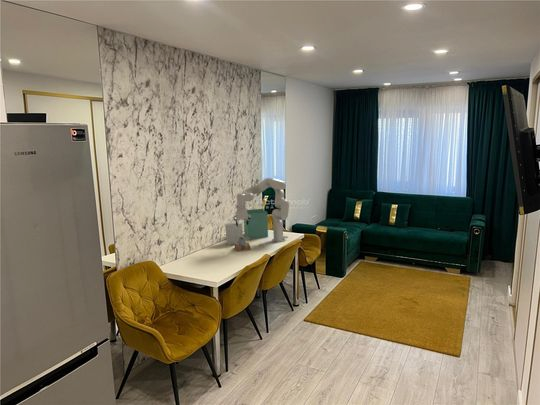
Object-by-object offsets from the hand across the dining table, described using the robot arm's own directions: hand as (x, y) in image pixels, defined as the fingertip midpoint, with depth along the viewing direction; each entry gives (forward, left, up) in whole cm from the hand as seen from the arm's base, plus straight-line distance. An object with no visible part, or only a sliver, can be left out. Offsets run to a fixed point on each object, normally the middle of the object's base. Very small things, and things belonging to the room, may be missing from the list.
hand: (242, 225), depth 353 cm
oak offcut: (-5, -8, -23) cm, 25 cm away
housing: (+1, +1, -18) cm, 18 cm away
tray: (+1, +1, -22) cm, 22 cm away
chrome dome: (-17, 0, -23) cm, 28 cm away
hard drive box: (+4, -21, -23) cm, 31 cm away
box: (-23, -44, -23) cm, 55 cm away
